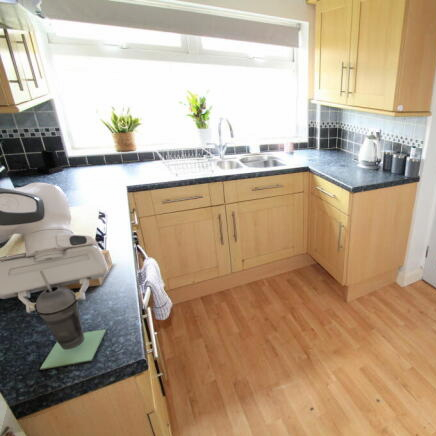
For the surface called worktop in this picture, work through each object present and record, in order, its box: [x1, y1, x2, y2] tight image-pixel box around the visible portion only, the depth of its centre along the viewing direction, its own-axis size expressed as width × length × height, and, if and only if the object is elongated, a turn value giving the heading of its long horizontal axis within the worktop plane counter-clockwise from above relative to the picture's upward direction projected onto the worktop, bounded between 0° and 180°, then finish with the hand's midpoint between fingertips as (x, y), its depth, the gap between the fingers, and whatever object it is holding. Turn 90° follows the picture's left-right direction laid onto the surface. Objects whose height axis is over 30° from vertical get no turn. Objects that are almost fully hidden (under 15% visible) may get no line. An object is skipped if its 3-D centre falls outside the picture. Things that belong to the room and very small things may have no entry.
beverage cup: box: [35, 271, 85, 350], centre depth 72 cm, size 7×7×20 cm
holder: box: [63, 249, 114, 290], centre depth 102 cm, size 12×12×6 cm
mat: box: [39, 328, 107, 371], centre depth 77 cm, size 10×10×1 cm
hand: (57, 305), depth 71 cm, fingers closed on beverage cup, 7 cm apart
